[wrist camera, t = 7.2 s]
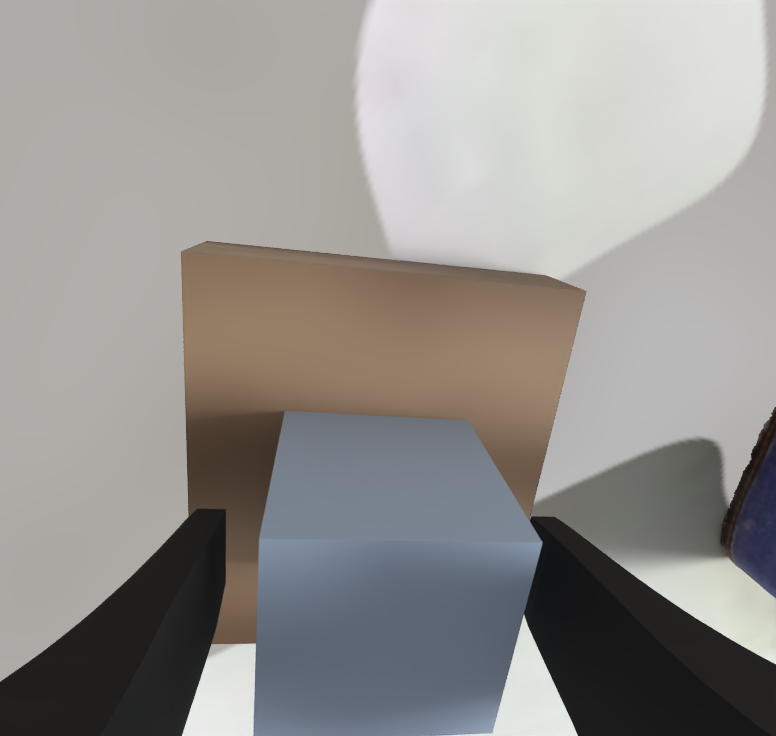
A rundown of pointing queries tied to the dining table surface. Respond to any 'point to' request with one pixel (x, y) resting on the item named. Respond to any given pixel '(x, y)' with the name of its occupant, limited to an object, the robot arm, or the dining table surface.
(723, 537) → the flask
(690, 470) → the dining table surface
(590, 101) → the dining table surface
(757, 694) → the robot arm
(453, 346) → the walnut base
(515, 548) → the slate cube
